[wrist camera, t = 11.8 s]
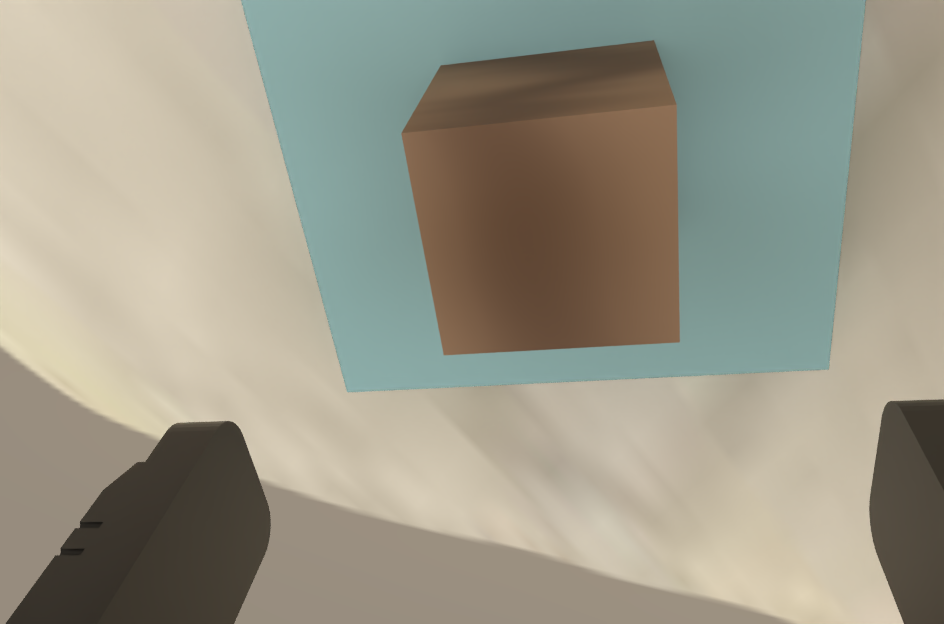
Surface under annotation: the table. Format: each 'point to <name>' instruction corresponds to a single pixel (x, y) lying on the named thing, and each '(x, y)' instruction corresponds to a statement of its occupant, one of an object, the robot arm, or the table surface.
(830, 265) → the teal board
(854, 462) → the table surface
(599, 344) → the walnut cube
